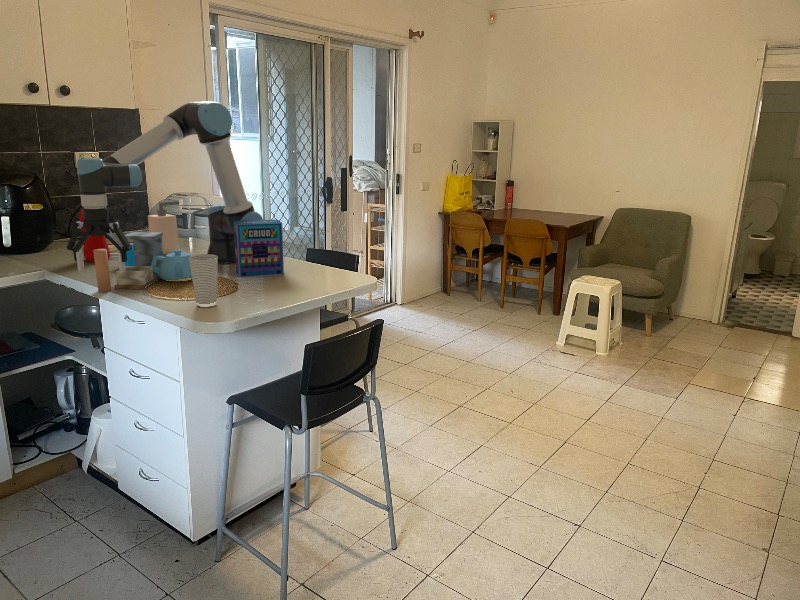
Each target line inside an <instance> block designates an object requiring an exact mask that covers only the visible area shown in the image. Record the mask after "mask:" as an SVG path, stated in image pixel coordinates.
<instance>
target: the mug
mask: <svg viewBox="0 0 800 600" xmlns="http://www.w3.org/2000/svg"><path fill="white" fill-rule="evenodd" d="M130 245H131V247H132V249H131V250H129V251H127V252H126V253H127V261H126V262H125V267H126V266H135V256H134V246H133V243H132V244H130Z"/></svg>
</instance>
